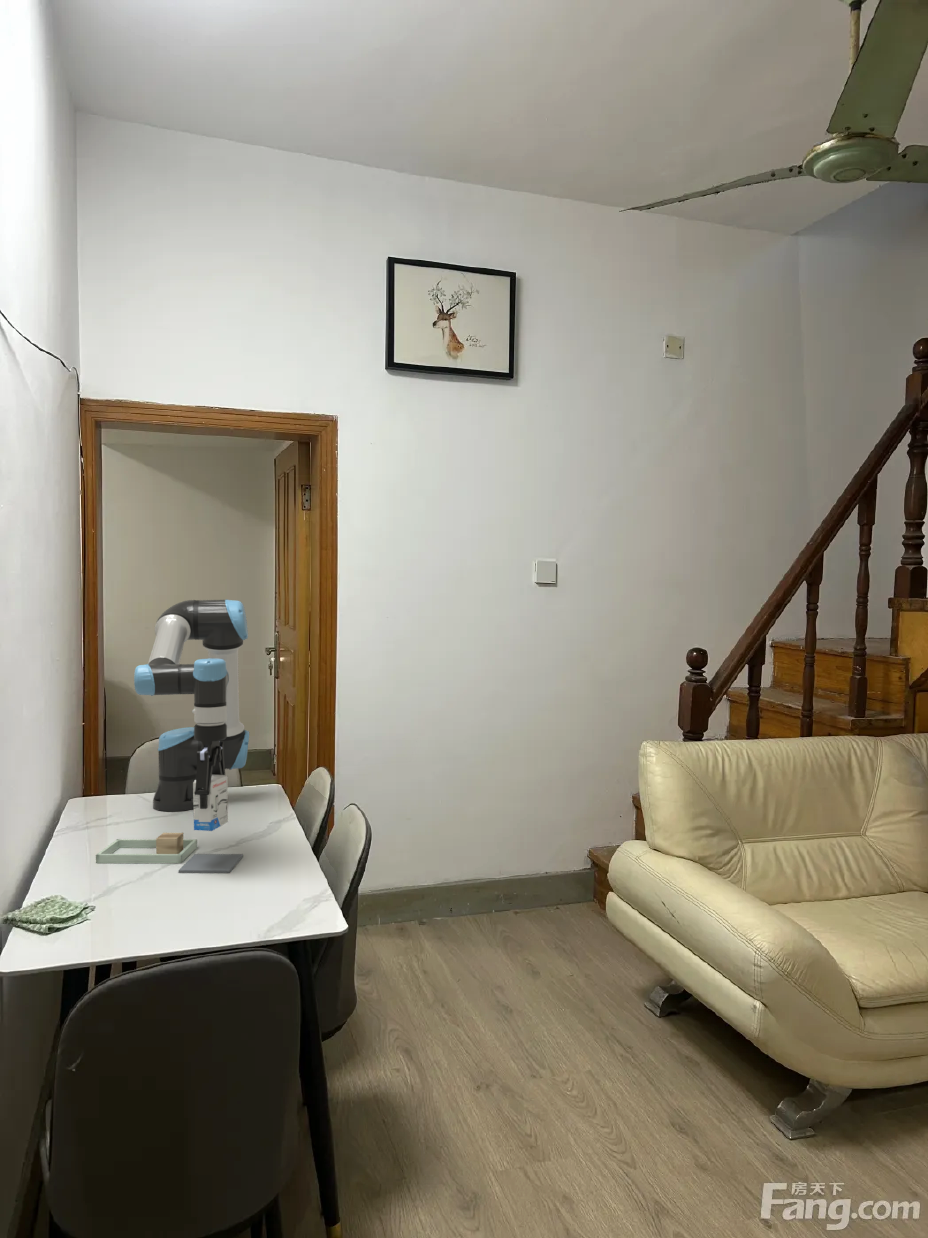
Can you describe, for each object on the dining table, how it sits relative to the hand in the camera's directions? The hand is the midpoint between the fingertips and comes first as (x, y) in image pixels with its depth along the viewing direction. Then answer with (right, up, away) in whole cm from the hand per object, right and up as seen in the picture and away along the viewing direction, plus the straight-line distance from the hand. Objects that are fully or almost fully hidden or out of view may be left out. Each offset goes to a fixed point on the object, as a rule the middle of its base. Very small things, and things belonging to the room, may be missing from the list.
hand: (211, 815), depth 202 cm
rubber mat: (0, -12, +1) cm, 12 cm away
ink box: (0, -3, 0) cm, 3 cm away
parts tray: (-18, -11, +8) cm, 23 cm away
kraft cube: (-13, -12, +8) cm, 19 cm away
